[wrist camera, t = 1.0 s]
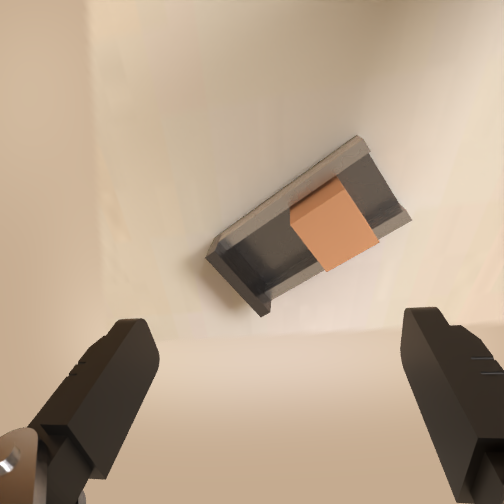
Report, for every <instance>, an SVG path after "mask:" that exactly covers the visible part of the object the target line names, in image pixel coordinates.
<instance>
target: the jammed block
mask: <svg viewBox="0 0 504 504" xmlns="http://www.w3.org/2000/svg"><path fill="white" fill-rule="evenodd" d="M290 225H291V227H292V228H293V229H294V231H295V232H296V233H297V235H298V236H299V237H300V238H301V240H302V241H303V242H304V244H305V245H306V246H307V247H308V249H309V250H310V251H311V253H312V254H313V255H314V257H315V258H316V259H317V260H318V262H319V263H320V264H321V266H322V267H323V268H324V269H325V271H326V272H328V271H329V270H331V269H333V268H335V267H337V266H338V265H340V264H342V263H344V262H345V261H347V260H349V259H351V258H353V257H354V256H356V255H358V254H360V253H361V252H363V251H365V250H367V249H369V248H370V247H372V246H374V245H376V244H377V243H379V240H378V239H377V237H376V235H375V234H374V232H373V230H372V229H371V227H370V226H369V224H368V222H367V221H366V219H365V218H364V216H363V215H362V213H361V212H360V210H359V209H358V207H357V206H356V204H355V203H354V201H353V200H352V198H351V197H350V195H349V194H348V192H347V191H346V189H345V188H344V186H343V185H342V183H341V182H340V180H339V179H338V177H337V176H334V177H333V178H331V179H330V180H328V181H327V182H325V183H324V184H323V185H321V186H320V187H318V188H317V189H315V190H314V191H312V192H311V193H309V194H308V195H307V196H305V197H304V198H302V199H301V200H299V201H298V202H296V203H295V204H293V205H292V206H291V207H290Z"/></svg>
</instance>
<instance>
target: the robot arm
mask: <svg viewBox="0 0 504 504" xmlns="http://www.w3.org/2000/svg"><path fill="white" fill-rule="evenodd" d="M400 351H401V359H402V364H403V368H404V371H405V373H406V376H407V378H408V381H409V383H410V386H411V389H412V391H413V393H414V396H415V399H416V401H417V404H418V406H419V409H420V411H421V414H422V416H423V419H424V421H425V424H426V426H427V429H428V432H429V434H430V437H431V439H432V442H433V444H434V447H435V449H436V452H437V454H438V457H439V459H440V462H441V464H442V467H443V469H444V472H445V475H446V477H447V479H448V482H449V484H450V487H451V490H452V492H453V495H454V497H455V500H456V502H457V503H471V504H504V370H503V369H502V367H501V366H500V365H499V363H498V362H497V361H496V360H494V358H493V355H492V354H491V353H490V351H489V350H488V349H487V348H486V346H485V345H484V343H483V342H482V341H481V339H479V338H478V337H477V336H475V335H474V334H472V333H471V332H470V331H468V330H467V329H466V328H464V327H463V326H461V325H453V326H450V325H449V324H448V322H447V321H446V319H445V318H444V316H443V315H442V313H441V312H440V310H439V309H438V308H437V307H420V308H406V309H405V311H404V318H403V328H402V337H401V347H400ZM158 367H159V352H158V349H157V347H156V344H155V342H154V339H153V337H152V334H151V332H150V329H149V327H148V324H147V322H146V321H145V320H144V319H142V318H140V319H120V320H118V321H117V322H116V323H115V324H114V326H113V327H112V328H111V330H110V331H109V332H108V334H107V335H106V336H103V337H102V338H100V339H99V340H98V341H97V342H96V343H94V344H93V345H92V346H91V347H89V349H88V350H87V351H86V352H85V354H84V355H83V356H82V357H81V359H80V360H79V361H78V365H75V366H74V368H73V369H72V370H71V371H70V373H69V376H68V377H66V378H65V379H64V380H63V382H62V383H61V384H60V386H59V387H58V388H57V390H56V391H55V392H54V393H53V395H52V396H51V397H50V399H49V400H48V401H47V402H46V404H45V405H44V406H43V407H42V409H41V410H40V411H39V413H38V414H37V415H36V416H35V418H34V419H33V420H32V422H31V423H30V424H29V425H28V426H27V428H19V429H16V430H13V431H11V432H8V433H6V434H5V435H3V436H1V437H0V504H86V497H85V493H84V491H83V488H84V486H85V484H86V483H87V481H88V479H106V478H107V476H108V473H109V472H110V469H111V467H112V465H113V463H114V461H115V459H116V457H117V455H118V453H119V450H120V448H121V446H122V444H123V442H124V440H125V438H126V436H127V434H128V431H129V429H130V427H131V425H132V423H133V421H134V419H135V417H136V415H137V413H138V410H139V408H140V406H141V404H142V402H143V400H144V398H145V396H146V394H147V391H148V389H149V387H150V385H151V383H152V381H153V379H154V377H155V375H156V372H157V370H158Z"/></svg>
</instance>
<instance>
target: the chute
mask: <svg viewBox="0 0 504 504" xmlns="http://www.w3.org/2000/svg"><path fill="white" fill-rule="evenodd" d="M369 152H371V151H370V149H369V148H368V146H367V144H366V143H365V141H364V139H362V138H361V137H359V136H357V135H356V136H355V137H354V138H352V139H351V140H349V141H348V142H347V143H345V144H344V145H342V146H341V147H340V148H338V149H337V150H336V151H334V152H333V153H331V154H330V155H329V156H327V157H326V158H324V159H323V160H322V161H320V162H319V163H317V164H316V165H315V166H313V167H312V168H311V169H309V170H308V171H306V172H305V173H304V174H302V175H301V176H299V177H298V178H297V179H295V180H294V181H293V182H291V183H290V184H288V185H287V186H286V187H284V188H283V189H281V190H280V191H279V192H277V193H276V194H275V195H273V196H272V197H270V198H269V199H268V200H266V201H265V202H263V203H262V204H261V205H259V206H258V207H257V208H255V209H254V210H252V211H251V212H250V213H248V214H247V215H245V216H244V217H243V218H241V219H240V220H239V221H237V222H236V223H234V224H233V225H232V226H230V227H229V228H227V229H226V230H225V231H223V232H222V233H220V234H219V235H218V236H216V237H215V239H214V241H213V243H212V245H211V247H210V249H209V251H208V253H207V255H206V257H205V258H206V259H207V260H208V261H209V262H210V263H211V264H212V266H213V267H214V268H215V269H216V270H217V271H218V272H219V273H220V274H221V275H222V276H223V277H224V278H225V279H226V281H227V282H228V283H229V284H230V285H231V286H232V287H233V288H234V289H235V290H236V291H237V292H238V293H239V295H240V296H241V297H242V298H243V299H244V300H245V301H246V302H247V303H248V304H249V305H250V306H251V307H252V308H253V310H254V311H255V312H256V313H257V314H258V315H259V316H260V317H262V316H264V315H266V314H268V313H270V308H271V300H272V299H274V298H276V297H278V296H280V295H281V294H283V293H285V292H287V291H288V290H290V289H292V288H294V287H295V286H297V285H299V284H301V283H302V282H304V281H306V280H308V279H309V278H311V277H313V276H315V275H317V274H318V273H320V272H322V271H324V270H325V269H324V268H323V267H322V266H321V264H320V263H319V262H318V260H317V259H316V258H315V257H314V255H313V254H312V253H311V251H310V250H309V249H308V247H307V246H306V245H305V244H304V242H303V241H302V240H301V238H300V237H299V236H298V235H297V233H296V232H295V231H294V229H293V228H292V227H291V225H290V207H291V206H292V205H293V204H295V203H296V202H298V201H299V200H301V199H302V198H304V197H305V196H307V195H308V194H309V193H311V192H312V191H314V190H315V189H317V188H318V187H320V186H321V185H323V184H324V183H325V182H327V181H328V180H330V179H331V178H333V177H334V176H337V177H338V179H339V180H340V182H341V183H342V185H343V186H344V188H345V189H346V191H347V192H348V194H349V195H350V197H351V198H352V200H353V201H354V203H355V204H356V206H357V207H358V209H359V210H360V212H361V213H362V215H363V216H364V218H365V219H366V221H367V222H368V224H369V226H370V227H371V229H372V230H373V232H374V234H375V235H376V237H377V239H380V238H382V237H384V236H385V235H387V234H389V233H391V232H392V231H394V230H396V229H398V228H399V227H401V226H403V225H405V224H406V223H408V222H410V221H412V219H411V218H410V216H409V214H408V213H407V211H406V210H405V209H404V208H403V207H402V206H401V205H400V204H399V203H398V201H397V199H396V198H395V196H394V194H393V193H392V191H391V190H390V188H389V186H388V185H387V183H386V181H385V180H384V178H383V176H382V175H381V173H380V171H379V170H378V168H377V166H376V165H375V163H374V161H373V160H372V158H371V157H370V155H369Z"/></svg>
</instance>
